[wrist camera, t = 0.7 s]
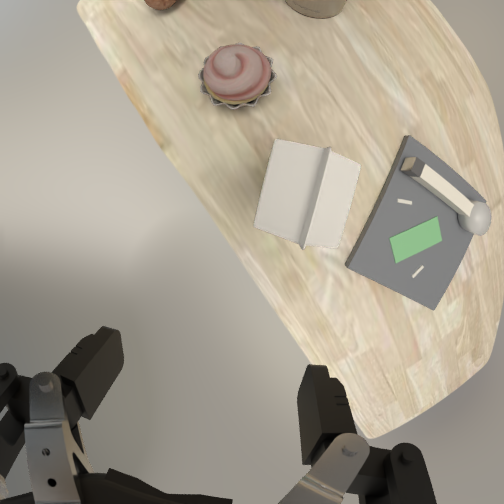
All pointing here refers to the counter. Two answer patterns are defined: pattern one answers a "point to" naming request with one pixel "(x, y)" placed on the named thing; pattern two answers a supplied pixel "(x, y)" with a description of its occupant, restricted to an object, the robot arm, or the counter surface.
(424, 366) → the counter surface
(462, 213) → the tuning lever
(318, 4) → the robot arm
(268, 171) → the milk
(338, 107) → the counter surface
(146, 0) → the mushroom
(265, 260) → the counter surface
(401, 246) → the board
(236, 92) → the cupcake
